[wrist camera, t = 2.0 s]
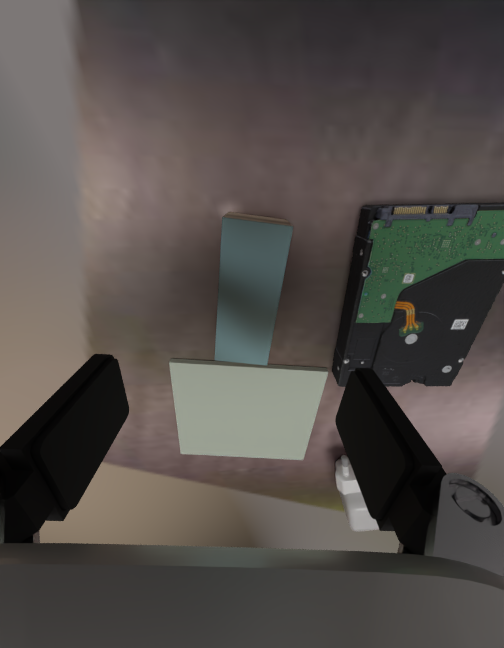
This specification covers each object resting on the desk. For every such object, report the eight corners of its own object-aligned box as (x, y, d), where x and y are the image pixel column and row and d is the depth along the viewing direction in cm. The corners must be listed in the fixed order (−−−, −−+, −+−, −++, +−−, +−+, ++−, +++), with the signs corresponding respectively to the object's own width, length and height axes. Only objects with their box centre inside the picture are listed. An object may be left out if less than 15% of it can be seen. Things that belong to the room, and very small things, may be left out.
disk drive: (433, 366, 24) (507, 199, 17) (454, 386, 21) (550, 201, 14) (329, 368, 24) (355, 204, 17) (337, 389, 22) (372, 207, 14)
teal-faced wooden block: (229, 211, 17) (222, 217, 13) (285, 219, 17) (293, 226, 14) (221, 332, 22) (214, 360, 18) (265, 337, 22) (266, 365, 18)
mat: (171, 358, 23) (169, 362, 22) (326, 367, 23) (328, 371, 23) (182, 449, 30) (180, 453, 29) (302, 455, 30) (303, 459, 30)
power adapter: (324, 430, 28) (340, 484, 23) (368, 423, 27) (394, 478, 22) (332, 482, 33) (346, 535, 28) (368, 478, 32) (390, 532, 27)
